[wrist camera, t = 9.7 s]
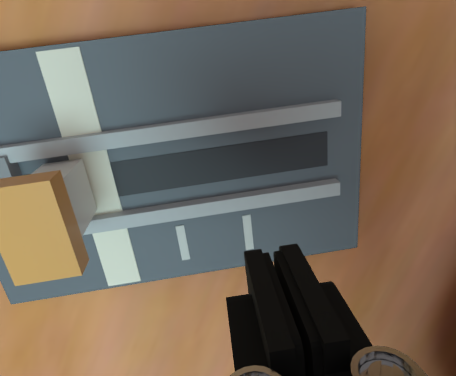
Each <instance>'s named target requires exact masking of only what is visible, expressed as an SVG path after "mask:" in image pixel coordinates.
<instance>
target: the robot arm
mask: <svg viewBox="0 0 456 376" xmlns="http://www.w3.org/2000/svg"><path fill="white" fill-rule="evenodd" d="M273 256H274V265H273V262H272V260H271V257H270V254H269V252H267V253H263V252H262V250H261V249H256V250H249V251H244V259H245V268H246V276H247V284H248V293H249V294H246V295H239V296H233V297H226V301H227V310H228V318H229V326H230V334H231V343H232V351H233V359H234V367H235V372H234V373H233V374H231V375H230V376H428V375H427V374H426V373H425V372H424V371H423V370H422V369H421V368H420V367H419V366H418V365H417V364H416V363H415V362H414V361H413V360H412V359H411V358H410V357H408V356H407V355H405V354H404V353H402V352H400V351H398V350H395V349H392V348H389V347H385V346H372V344H371V343H370V341H369V339H368V338H367V336H366V334H365V333H364V331H363V330H362V328H361V326H360V325H359V323H358V321H357V320H356V318H355V317H354V315H353V313H352V312H351V310H350V308H349V307H348V305H347V304H346V302H345V300H344V299H343V297H342V296H341V294H340V292H339V291H338V289H337V287H336V286H335V284H334V283H333V282H331V281H330V282H324V283H319V282H318V280H317V278H316V276H315V275H314V273H313V271H312V269H311V267H310V265H309V264H308V262H307V260H306V258H305V256H304V255H303V253H302V251H301V249H300V247H299V245H298V244H289V245H283V246H279V251H274V252H273Z"/></svg>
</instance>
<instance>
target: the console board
mask: <svg viewBox="0 0 456 376" xmlns="http://www.w3.org/2000/svg"><path fill="white" fill-rule="evenodd" d="M365 26H366V7H358V8H350V9H342V10H333V11H325V12H317V13H309V14H301V15H293V16H285V17H277V18H268V19H260V20H252V21H244V22H236V23H228V24H220V25H212V26H204V27H195V28H187V29H179V30H171V31H163V32H155V33H147V34H139V35H130V36H122V37H114V38H106V39H98V40H90V41H82V42H74V43H65V44H57V45H49V46H41V47H33V48H25V49H17V50H9V51H0V179H1V178H8V177H15V176H22V175H29V174H32V173H33V172H34V171H35V170H36V169H38V168H39V167H40V166H41V165H43V164H46V163H53V162H60V161H67V160H74V159H81V158H82V159H83V163H84V166H85V170H86V173H87V176H88V180H89V183H90V187H91V190H92V193H93V197H94V200H95V203H96V207H97V211H96V213H95V214H94V216H93V218H92V220H91V222H90V224H89V225H88V227H87V229H86V231H85V233H84V235H83V236H82V238H83V241H84V245H85V248H86V251H87V254H88V257H89V261H88V264H87V266H86V268H85V270H84V272H83V275H82V276H76V277H70V278H63V279H57V280H51V281H45V282H39V283H33V284H26V285H20V286H15V285H14V283H13V280H12V278H11V276H10V274H9V271H8V269H7V267H6V265H5V262H4V260H3V258H2V256H1V253H0V281H1V283H2V286H3V288H4V290H5V292H6V294H7V296H8V299H9V301H10V303H11V304H16V303H22V302H28V301H35V300H41V299H47V298H53V297H59V296H65V295H71V294H77V293H83V292H89V291H95V290H101V289H107V288H113V287H119V286H126V285H132V284H138V283H144V282H150V281H156V280H162V279H168V278H174V277H180V276H186V275H192V274H198V273H204V272H210V271H217V270H223V269H229V268H235V267H241V266H245V259H244V251H249V250H256V249H261V250H262V252H263V253H267V252H269V254H270V257H271V260H272V261H274V256H273V252H274V251H279V246H283V245H289V244H298V245H299V247H300V249H301V251H302V253H303V255H304V256H308V255H314V254H320V253H326V252H332V251H338V250H344V249H350V248H356V247H357V242H358V215H359V188H360V161H361V134H362V107H363V80H364V53H365Z"/></svg>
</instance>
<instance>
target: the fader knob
mask: <svg viewBox="0 0 456 376" xmlns="http://www.w3.org/2000/svg"><path fill="white" fill-rule="evenodd" d="M96 211H97V207H96V203H95V200H94V197H93V193H92V190H91V187H90V183H89V180H88V176H87V173H86V170H85V166H84V163H83V159H82V158H81V159H74V160H67V161H60V162H53V163H46V164H43V165H41V166H40V167H39V168H38V169H36V170H35V171H34V172H33V173H32V174H29V175H22V176H15V177H8V178H1V179H0V253H1V256H2V258H3V260H4V262H5V265H6V267H7V269H8V271H9V274H10V276H11V278H12V280H13V283H14V285H15V286H20V285H26V284H33V283H39V282H45V281H51V280H57V279H63V278H70V277H76V276H82V275H83V272H84V270H85V268H86V266H87V264H88V261H89V257H88V254H87V251H86V248H85V245H84V241H83V238H82V236H83V235H84V233H85V231H86V229H87V227H88V225H89V224H90V222H91V220H92V218H93V216H94V214H95V213H96Z"/></svg>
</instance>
